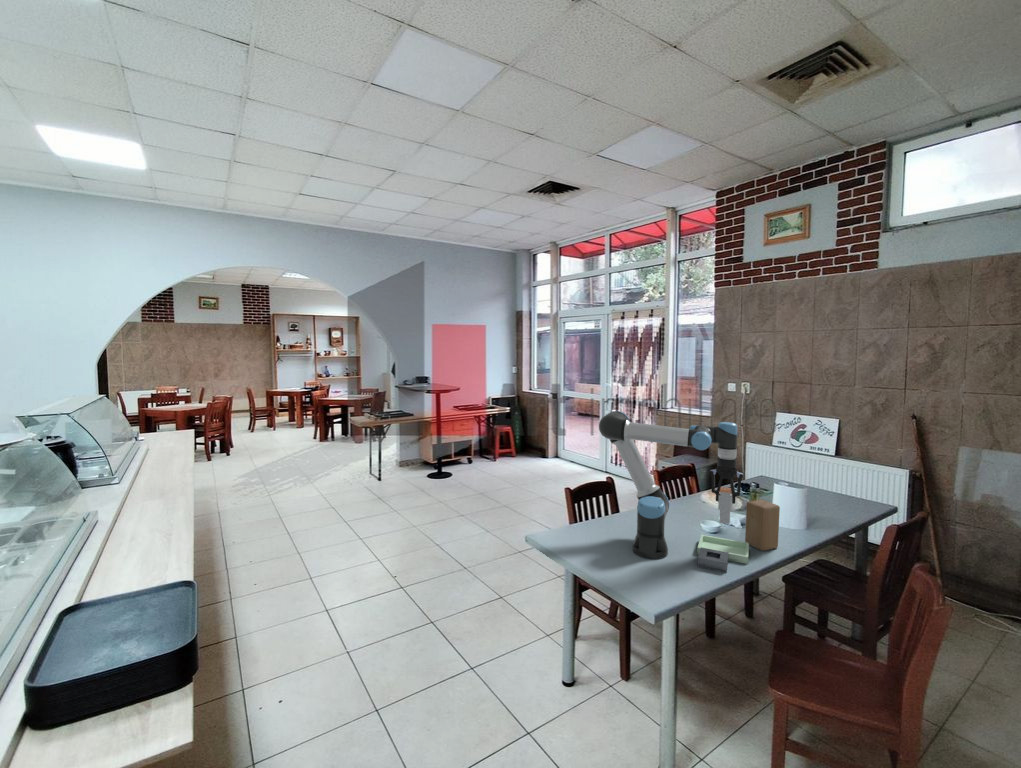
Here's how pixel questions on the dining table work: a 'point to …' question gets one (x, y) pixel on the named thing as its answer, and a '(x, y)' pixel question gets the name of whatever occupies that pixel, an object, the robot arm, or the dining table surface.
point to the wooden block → (762, 524)
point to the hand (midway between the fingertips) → (725, 509)
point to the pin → (725, 505)
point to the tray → (726, 547)
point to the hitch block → (713, 559)
